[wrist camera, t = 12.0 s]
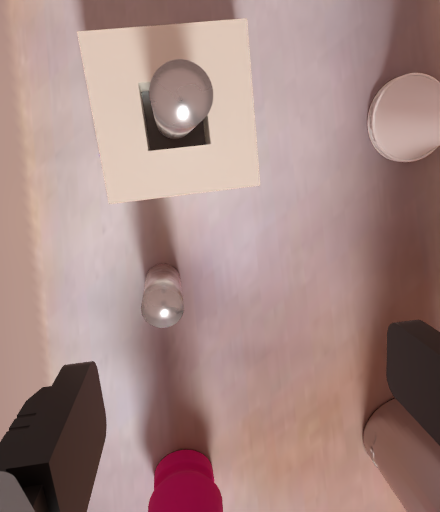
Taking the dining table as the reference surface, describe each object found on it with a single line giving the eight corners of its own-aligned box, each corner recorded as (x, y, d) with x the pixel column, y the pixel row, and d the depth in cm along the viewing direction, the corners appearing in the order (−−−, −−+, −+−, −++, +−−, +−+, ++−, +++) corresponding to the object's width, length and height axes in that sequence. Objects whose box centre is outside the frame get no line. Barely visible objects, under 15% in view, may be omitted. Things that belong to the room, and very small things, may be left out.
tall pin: (190, 97, 32) (209, 56, 19) (195, 137, 33) (216, 124, 20) (152, 101, 32) (144, 62, 19) (158, 141, 33) (154, 131, 20)
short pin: (177, 261, 36) (180, 285, 29) (182, 293, 37) (186, 324, 30) (143, 266, 36) (138, 291, 29) (148, 298, 36) (144, 330, 30)
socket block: (236, 34, 32) (246, 18, 28) (249, 182, 35) (260, 185, 31) (87, 47, 31) (76, 31, 27) (115, 198, 34) (108, 204, 30)
